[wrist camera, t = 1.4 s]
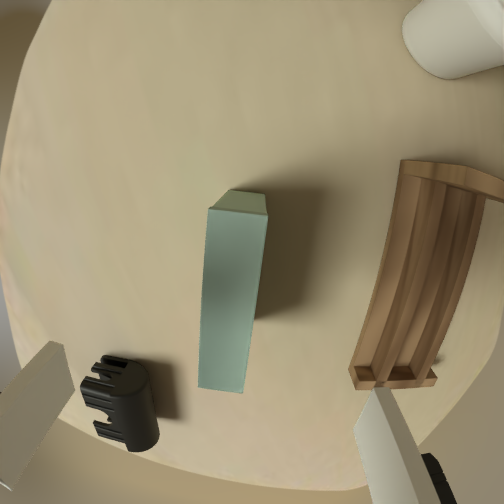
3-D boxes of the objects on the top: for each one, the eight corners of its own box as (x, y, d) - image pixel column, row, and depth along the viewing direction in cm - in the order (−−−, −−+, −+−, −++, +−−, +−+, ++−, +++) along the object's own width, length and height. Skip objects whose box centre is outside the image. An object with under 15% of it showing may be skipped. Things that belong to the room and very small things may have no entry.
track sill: (348, 369, 30) (371, 437, 21) (400, 159, 24) (467, 166, 14) (421, 368, 30) (456, 424, 21) (479, 184, 24) (547, 201, 14)
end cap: (166, 418, 34) (153, 458, 27) (116, 408, 34) (98, 443, 27) (157, 360, 31) (138, 402, 24) (100, 350, 31) (75, 386, 24)
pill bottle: (476, 70, 20) (580, 47, 6) (427, 90, 22) (544, 60, 7) (438, 5, 18) (523, -49, 4) (384, 18, 20) (467, -59, 5)
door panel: (216, 317, 29) (197, 387, 19) (228, 189, 25) (208, 209, 16) (248, 321, 29) (242, 393, 19) (265, 193, 25) (268, 216, 16)
